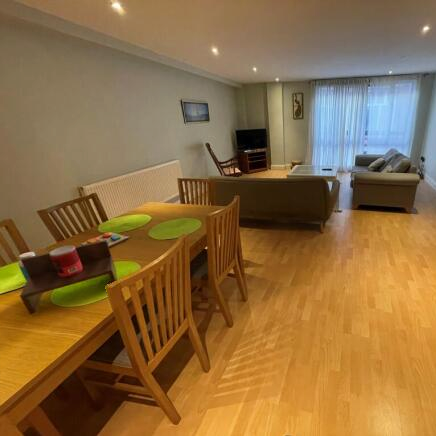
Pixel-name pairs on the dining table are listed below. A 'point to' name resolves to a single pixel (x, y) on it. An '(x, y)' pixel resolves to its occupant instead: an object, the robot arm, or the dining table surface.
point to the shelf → (50, 280)
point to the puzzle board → (107, 239)
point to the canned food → (66, 261)
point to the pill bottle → (22, 264)
